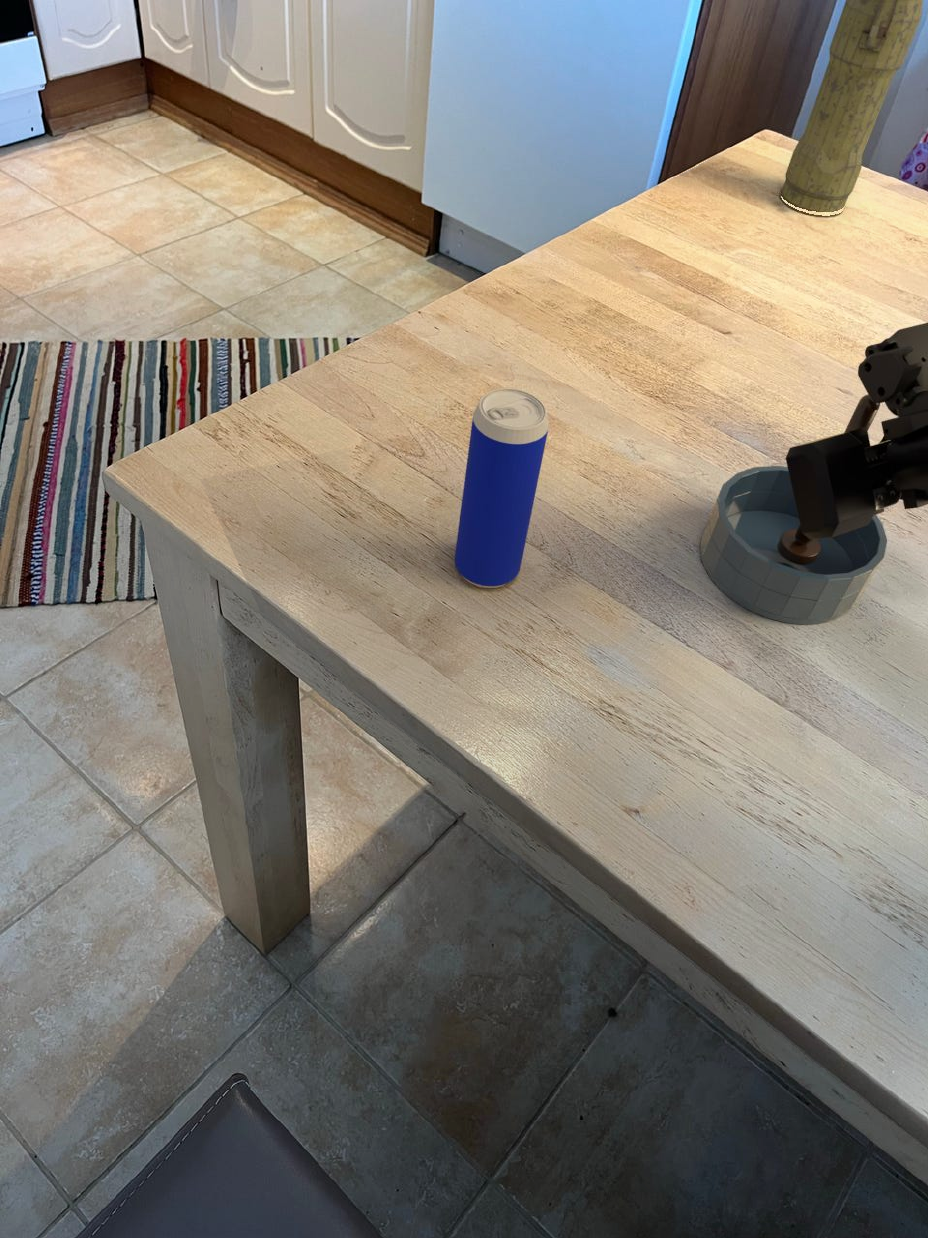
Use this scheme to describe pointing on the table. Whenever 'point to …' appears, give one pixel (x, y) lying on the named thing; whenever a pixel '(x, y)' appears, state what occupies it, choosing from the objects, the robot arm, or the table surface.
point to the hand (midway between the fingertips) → (815, 477)
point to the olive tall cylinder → (849, 101)
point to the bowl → (761, 576)
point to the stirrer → (794, 541)
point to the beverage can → (500, 486)
